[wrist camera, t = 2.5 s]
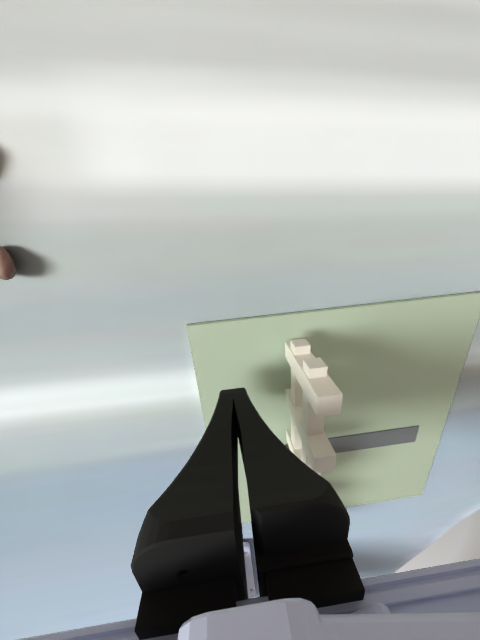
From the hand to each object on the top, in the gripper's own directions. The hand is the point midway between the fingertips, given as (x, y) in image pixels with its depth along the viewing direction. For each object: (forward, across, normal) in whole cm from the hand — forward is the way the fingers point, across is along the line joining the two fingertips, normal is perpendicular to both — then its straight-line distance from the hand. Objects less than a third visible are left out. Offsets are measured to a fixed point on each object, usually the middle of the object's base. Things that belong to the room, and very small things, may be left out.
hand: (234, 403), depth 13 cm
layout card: (+2, -7, +6) cm, 9 cm away
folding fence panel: (+2, -4, +1) cm, 4 cm away
